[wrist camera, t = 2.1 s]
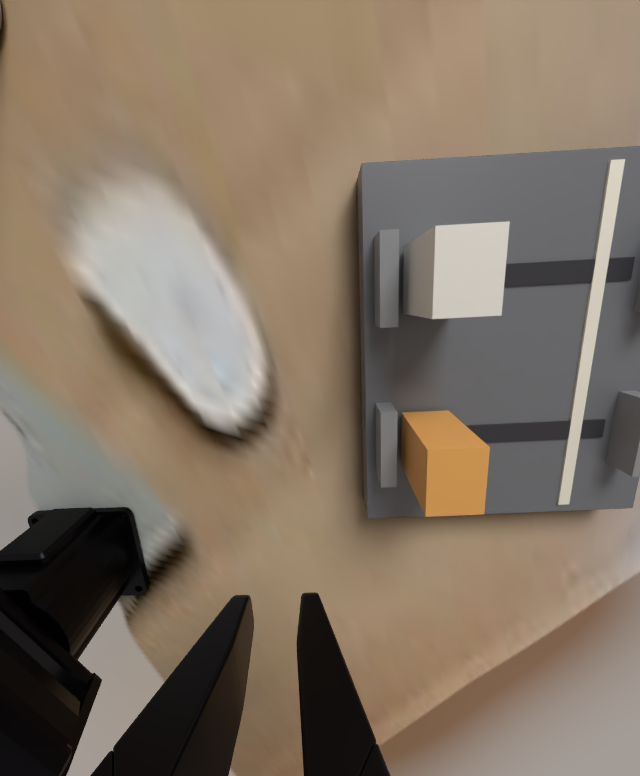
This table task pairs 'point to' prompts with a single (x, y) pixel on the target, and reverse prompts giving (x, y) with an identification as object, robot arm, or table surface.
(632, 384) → the panel
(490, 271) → the block
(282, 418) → the table surface
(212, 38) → the table surface
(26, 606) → the robot arm
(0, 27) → the energy drink
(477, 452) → the fader orange
